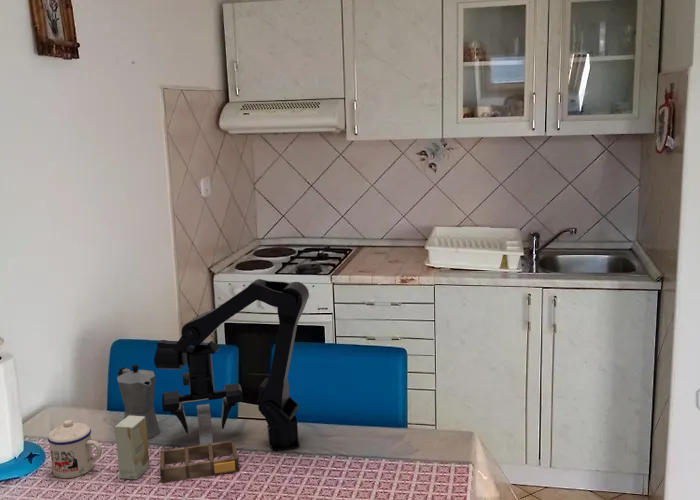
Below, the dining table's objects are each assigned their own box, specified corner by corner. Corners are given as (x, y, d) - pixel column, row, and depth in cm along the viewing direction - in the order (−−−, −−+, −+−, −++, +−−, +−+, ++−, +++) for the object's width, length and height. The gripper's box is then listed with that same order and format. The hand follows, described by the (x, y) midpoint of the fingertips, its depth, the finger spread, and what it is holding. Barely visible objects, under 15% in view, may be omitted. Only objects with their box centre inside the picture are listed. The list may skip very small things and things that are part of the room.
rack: (235, 452, 163) (234, 440, 162) (239, 471, 153) (238, 459, 153) (161, 462, 159) (160, 450, 158) (161, 483, 150) (159, 470, 149)
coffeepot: (171, 434, 173) (165, 366, 169) (136, 448, 166) (129, 377, 163) (141, 416, 183) (135, 352, 180) (107, 428, 177) (100, 361, 174)
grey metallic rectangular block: (211, 433, 172) (209, 403, 171) (212, 444, 167) (210, 413, 165) (199, 435, 172) (196, 405, 170) (200, 446, 166) (197, 415, 164)
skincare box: (137, 480, 151) (131, 428, 149) (118, 479, 152) (113, 427, 150) (151, 465, 157) (146, 415, 155) (133, 464, 158) (128, 414, 156)
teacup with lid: (43, 477, 154) (36, 428, 152) (68, 457, 162) (62, 411, 160) (91, 482, 151) (85, 432, 149) (114, 461, 160) (109, 414, 158)
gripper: (236, 353, 175) (240, 411, 178) (160, 362, 171) (165, 421, 174) (241, 369, 165) (245, 430, 168) (159, 378, 160) (165, 441, 163)
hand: (205, 430), depth 169 cm, fingers open, 8 cm apart
